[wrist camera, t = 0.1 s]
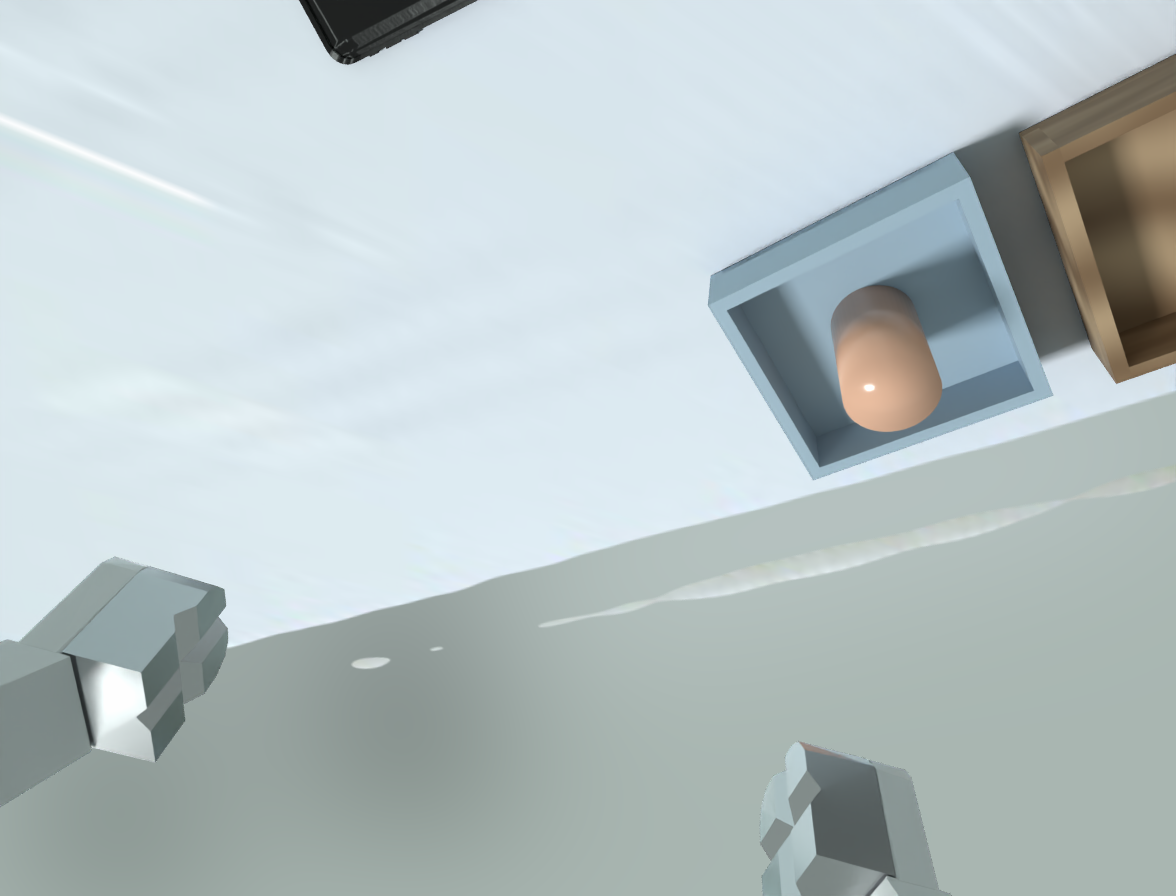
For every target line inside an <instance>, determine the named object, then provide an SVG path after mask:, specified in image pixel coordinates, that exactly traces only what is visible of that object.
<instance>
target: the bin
mask: <svg viewBox="0 0 1176 896" xmlns="http://www.w3.org/2000/svg"><path fill="white" fill-rule="evenodd" d="M873 285H885V286H891V287H894V288H897V289H899V290H901V291H902V292H904V293H905V294H906V295H907V296H908V297H909V298H910V299H911V300H912V302H913V304H914V306H915V309H916V312H917V314H918V317H919V320H920V323H921V325H922V328H923V331H924V334H925V336H926V339H927V342H928V345H929V347H930V350H931V353H932V356H933V358H934V361H935V364H936V367H937V369H938V372H939V375H940V378H941V381H942V395H941V398H940V401H939V403H938V405H937V407H936V408H935V409H934V411H933V412H932V413H931V414H930V415H929V416H928V417H927V418H926V419H924V420H923V421H921V422H920V423H918V424H916V425H914V426H912V427H910V428H907V429H904V430H899V431H892V432H880V431H874V430H870V429H867V428H865V427H862V426H860V425H859V424H857V423H856V422H855V421H853V420H852V419H851V418H850V417H849V415H848V414H847V412H846V410H845V408H844V405H843V401H842V395H841V389H840V383H839V377H838V371H837V365H836V359H835V353H834V347H833V341H832V335H831V327H830V326H831V318H832V315H833V312H834V311H835V309H836V307H837V306H838V304H839V303H840V302H841V301H842V300H843V299H844V298H845V297H846V296H848V295H849V294H850V293H852V292H854V291H856V290H858V289H861V288H863V287H867V286H873ZM708 307H709V308H710V310H711V312H712V313H713V315H714V317H715V318H716V320H717V322H718V323H719V325H720V327H721V328H722V330H723V331H724V333H725V335H726V336H727V338H728V340H729V341H730V343H731V345H732V346H733V348H734V350H735V351H736V353H737V355H738V356H739V358H740V360H741V361H742V363H743V365H744V366H745V368H746V370H747V371H748V373H749V375H750V376H751V378H752V380H753V381H754V383H755V385H756V386H757V388H758V389H759V391H760V393H761V394H762V396H763V398H764V399H765V401H766V403H767V404H768V406H769V408H770V409H771V411H772V413H773V414H774V416H775V418H776V419H777V421H778V423H779V424H780V426H781V428H782V429H783V431H784V433H785V434H786V436H787V438H788V439H789V441H790V443H791V444H792V446H793V448H794V449H795V451H796V452H797V454H798V456H799V457H800V459H801V461H802V462H803V464H804V466H805V467H806V469H807V471H808V472H809V474H810V476H811V477H812V479H813V480H816V479H818V478H821V477H824V476H827V475H830V474H833V473H835V472H838V471H841V470H844V469H847V468H849V467H852V466H855V465H858V464H861V463H864V462H866V461H869V460H872V459H875V458H878V457H881V456H883V455H886V454H889V453H892V452H895V451H898V450H900V449H903V448H906V447H909V446H912V445H915V444H917V443H920V442H923V441H926V440H929V439H932V438H934V437H937V436H940V435H943V434H946V433H949V432H951V431H954V430H957V429H960V428H963V427H966V426H968V425H971V424H974V423H977V422H980V421H983V420H985V419H988V418H991V417H994V416H997V415H1000V414H1002V413H1005V412H1008V411H1011V410H1014V409H1017V408H1019V407H1022V406H1025V405H1028V404H1031V403H1034V402H1036V401H1039V400H1042V399H1045V398H1048V397H1051V396H1053V393H1052V391H1051V388H1050V386H1049V383H1048V380H1047V378H1046V375H1045V372H1044V370H1043V367H1042V365H1041V362H1040V359H1039V357H1038V354H1037V351H1036V349H1035V346H1034V344H1033V341H1032V338H1031V336H1030V333H1029V330H1028V328H1027V325H1026V323H1025V320H1024V317H1023V315H1022V312H1021V309H1020V307H1019V304H1018V302H1017V299H1016V296H1015V294H1014V291H1013V288H1012V286H1011V283H1010V281H1009V278H1008V275H1007V273H1006V270H1005V267H1004V265H1003V262H1002V260H1001V257H1000V254H999V252H998V249H997V246H996V244H995V241H994V239H993V236H992V233H991V231H990V228H989V225H988V223H987V220H986V218H985V215H984V212H983V210H982V207H981V204H980V202H979V199H978V196H977V194H976V191H975V189H974V186H973V183H972V181H971V178H970V176H969V175H968V173H967V172H966V170H965V169H964V167H963V166H962V164H961V163H960V161H959V160H958V158H957V157H956V155H955V154H954V153H951V154H949V155H947V156H945V157H943V158H941V159H939V160H937V161H935V162H933V163H931V164H929V165H927V166H925V167H923V168H921V169H920V170H918V171H916V172H914V173H912V174H910V175H908V176H906V177H904V178H902V179H900V180H898V181H896V182H894V183H892V184H890V185H888V186H886V187H884V188H882V189H880V190H878V191H876V192H874V193H873V194H871V195H869V196H867V197H865V198H863V199H861V200H859V201H857V202H855V203H853V204H851V205H849V206H847V207H845V208H843V209H841V210H839V211H837V212H835V213H833V214H831V215H829V216H828V217H826V218H824V219H822V220H820V221H818V222H816V223H814V224H812V225H810V226H808V227H806V228H804V229H802V230H800V231H798V232H796V233H794V234H792V235H790V236H788V237H786V238H784V239H783V240H781V241H779V242H777V243H775V244H773V245H771V246H769V247H767V248H765V249H763V250H761V251H759V252H757V253H755V254H753V255H751V256H749V257H747V258H745V259H743V260H741V261H739V262H738V263H736V264H734V265H732V266H730V267H728V268H726V269H724V270H722V271H720V272H718V273H716V274H714V275H712V276H711V279H710V289H709V300H708Z"/></svg>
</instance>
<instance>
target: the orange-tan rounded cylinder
mask: <svg viewBox="0 0 1176 896" xmlns="http://www.w3.org/2000/svg"><path fill="white" fill-rule="evenodd" d="M830 327H831V335H832V341H833V347H834V353H835V359H836V365H837V371H838V377H839V383H840V389H841V395H842V401H843V405H844V408H845V410H846V412H847V414H848V415H849V417H850V418H851V419H852V420H853V421H855V422H856V423H857V424H859V425H860V426H862V427H865V428H867V429H870V430H874V431H880V432H892V431H899V430H904V429H907V428H910V427H912V426H914V425H916V424H918V423H920V422H921V421H923V420H924V419H926V418H927V417H928V416H929V415H930V414H931V413H932V412H933V411H934V409H935V408H936V407H937V405H938V403H939V401H940V398H941V395H942V381H941V378H940V375H939V372H938V369H937V367H936V364H935V361H934V358H933V356H932V353H931V350H930V347H929V345H928V342H927V339H926V336H925V334H924V331H923V328H922V325H921V323H920V320H919V317H918V314H917V312H916V309H915V306H914V304H913V302H912V300H911V299H910V298H909V297H908V296H907V295H906V294H905V293H904V292H902V291H901V290H899V289H897V288H894V287H891V286H885V285H873V286H867V287H863V288H861V289H858V290H856V291H854V292H852V293H850V294H849V295H848V296H846V297H845V298H844V299H843V300H842V301H841V302H840V303H839V304H838V306H837V307H836V309H835V311H834V312H833V315H832V318H831V326H830Z"/></svg>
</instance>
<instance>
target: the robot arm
mask: <svg viewBox="0 0 1176 896" xmlns="http://www.w3.org/2000/svg"><path fill="white" fill-rule="evenodd" d="M225 607H226V599H225V591H224V589H223V588H220V587H218V586H214V585H211V584H208V583H204V582H201V581H198V580H194V579H191V578H188V577H184V576H181V575H177V574H174V573H171V572H167V571H164V570H161V569H157V568H154V567H151V566H146V565H143V564H139V563H136V562H132V561H129V560H125V559H122V558H118V557H113V558H111V559H109V560H106V561H104V562H102V563H101V564H100V565H98V566H97V567H96V568H95V569H94V570H93V571H92V572H91V573H90V574H89V575H88V576H87V577H86V578H85V579H84V580H83V581H82V582H81V583H80V584H79V585H77V586H76V587H75V588H74V589H73V590H72V591H71V592H70V593H69V594H68V595H67V596H66V597H65V598H64V599H63V600H62V601H61V602H60V603H59V604H58V605H56V606H55V607H54V608H53V609H52V610H51V611H50V612H49V613H48V614H47V615H46V616H45V617H44V618H43V619H42V620H41V621H40V622H39V623H38V624H37V625H35V626H34V627H33V628H32V629H31V630H30V631H29V632H28V633H27V634H26V635H25V636H24V637H23V638H22V639H21V640H20V641H19V642H17V641H13V640H9V639H6V640H4V641H1V642H0V807H1V806H3V805H5V804H6V803H8V802H9V801H11V800H13V799H14V798H16V797H18V796H19V795H21V794H23V793H24V792H26V791H28V790H29V789H31V788H32V787H34V786H36V785H37V784H39V783H41V782H42V781H44V780H45V779H47V778H49V777H50V776H52V775H54V774H55V773H57V772H59V771H60V770H62V769H63V768H65V767H67V766H68V765H70V764H72V763H73V762H75V761H77V760H78V759H80V758H81V757H83V756H85V755H86V754H88V753H90V752H91V750H92V749H91V747H93V748H97V749H101V750H105V751H109V752H114V753H118V754H122V755H126V756H130V757H135V758H139V759H143V760H147V761H151V762H156V761H157V759H158V758H159V757H160V755H161V754H162V752H163V751H164V750H165V748H166V747H167V745H168V744H169V743H170V741H171V740H172V738H173V737H174V736H175V734H176V733H177V732H178V730H179V729H180V727H181V726H182V725H183V723H184V722H185V712H184V704H185V703H187V702H189V701H191V700H193V699H195V698H197V697H199V696H201V695H203V694H205V692H206V691H207V689H208V688H209V686H210V685H211V683H212V682H213V681H214V679H215V678H216V676H217V674H218V671H219V669H220V667H221V665H222V662H223V660H224V658H225V655H226V649H227V644H228V628H227V627H226V626H225V624H224V623H223V622H222V621H221V619H220V618H219V617H218V616H219V615H220V614H221V612H222V611H223V610H224V608H225ZM785 762H786V770H785V771H783V772H780V773H778V774H775V775H774V776H773V777H772V779H771V781H770V783H769V785H768V787H767V788H766V791H765V795H764V799H763V802H762V807H761V814H760V844H761V845H762V847H763V849H764V851H765V852H766V854H767V855H768V857H769V859H770V860H771V862H770V864H769V866H768V867H767V869H766V870H765V872H764V873H763V875H762V891H763V896H952V895H951V894H950V893H947V892H944V891H941V890H939V888H938V883H937V880H936V875H935V871H934V867H933V864H932V859H931V855H930V851H929V847H928V843H927V839H926V835H925V831H924V827H923V823H922V819H921V815H920V810H919V807H918V803H917V798H916V794H915V790H914V786H913V782H912V778H911V776H910V775H909V774H908V772H907V771H906V770H905V769H901V768H897V767H894V766H890V765H886V764H882V763H879V762H875V761H871V760H867V759H865V758H862V757H858V756H855V755H851V754H847V753H843V752H839V751H835V750H831V749H827V748H823V747H819V746H815V745H811V744H807V743H803V742H799V741H798V742H796V743H795V744H793V745H792V746H791V747H790V749H789V750H788V752H787V754H786V755H785Z"/></svg>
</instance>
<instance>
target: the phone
mask: <svg viewBox="0 0 1176 896" xmlns="http://www.w3.org/2000/svg"><path fill="white" fill-rule="evenodd" d="M299 1H300V3H301V5H302V6H303V8H304V10H305V12H306V14H307V16H308V17H309V19H310V21H311V23H312V25H313V27H314V28H315V30H316V32H317V34H318V36H319V38H320V39H321V41H322V43H323V45H324V47H325V49H326V50H327V52H328V53H329V54H330V56H331V57H332V58H333V59H335V60H336V61H337V62H339V63H342V64H348V65H349V64H353V63H355V62H357V61H359V60H361V59H363V58H365V57H367V56H370V57H371V56H373V55H375V54H377V53H379V50H381V49H383V48H385V47H386V49H387V48H389V47H391V46H393V45H395V44H397V43H399V42H401V39H403V38H404V39H405V40H406V39H408V38H410V37H412V36H414V35H416V34H418V33H419V32H418V30H420V29H422V28H424V27H426V26H428V25H430V24H432V23H434V22H436V21H438V20H440V19H442V18H444V17H446V16H448V15H450V14H452V13H454V12H456V11H458V10H460V9H462V8H464V7H466V6H467V5H469V4H471V3H473V2H475V1H477V0H299Z"/></svg>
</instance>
